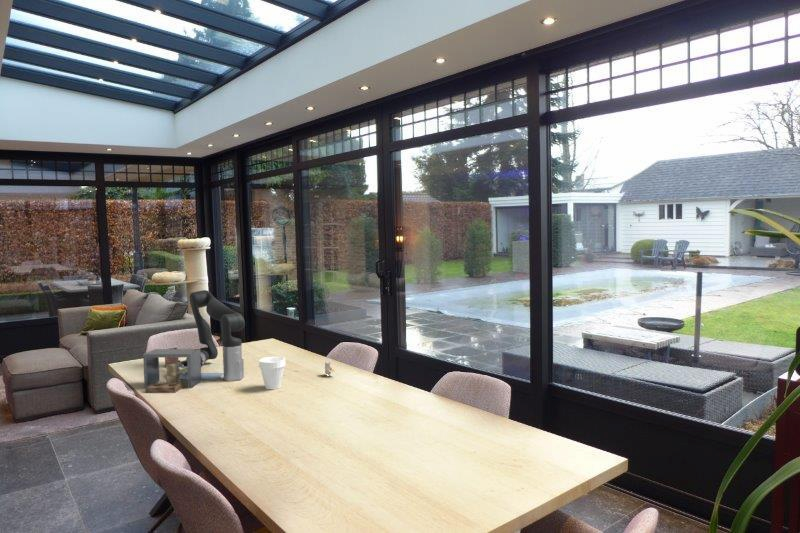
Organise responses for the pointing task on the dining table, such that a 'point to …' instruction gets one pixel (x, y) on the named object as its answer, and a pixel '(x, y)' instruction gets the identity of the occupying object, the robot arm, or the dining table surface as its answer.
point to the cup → (272, 371)
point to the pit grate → (163, 387)
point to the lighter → (170, 358)
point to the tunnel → (153, 356)
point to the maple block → (173, 372)
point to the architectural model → (328, 368)
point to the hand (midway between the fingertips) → (182, 367)
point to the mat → (203, 376)
